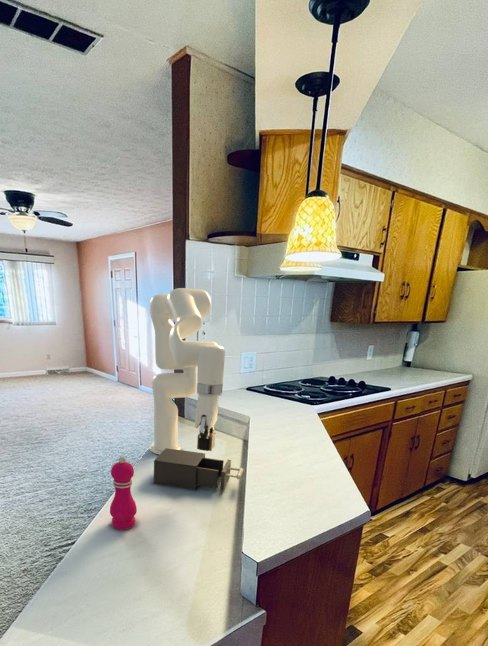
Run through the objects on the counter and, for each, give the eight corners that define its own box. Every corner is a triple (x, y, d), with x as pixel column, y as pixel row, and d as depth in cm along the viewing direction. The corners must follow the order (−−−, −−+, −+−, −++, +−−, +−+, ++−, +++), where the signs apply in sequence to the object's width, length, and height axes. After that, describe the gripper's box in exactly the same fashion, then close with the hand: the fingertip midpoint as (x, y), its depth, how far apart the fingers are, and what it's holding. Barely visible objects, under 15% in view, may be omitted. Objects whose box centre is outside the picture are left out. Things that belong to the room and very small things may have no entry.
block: (200, 444, 129) (201, 430, 127) (214, 446, 128) (215, 432, 127) (197, 449, 125) (197, 435, 123) (211, 451, 124) (212, 437, 122)
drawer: (243, 479, 144) (245, 461, 142) (238, 493, 134) (239, 474, 131) (192, 472, 148) (193, 454, 145) (184, 485, 137) (184, 466, 135)
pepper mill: (131, 532, 110) (130, 463, 102) (105, 528, 111) (103, 460, 104) (140, 519, 117) (140, 454, 109) (116, 515, 118) (114, 450, 110)
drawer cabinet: (204, 475, 148) (205, 453, 145) (195, 490, 136) (196, 466, 133) (165, 470, 151) (166, 448, 147) (153, 483, 139) (153, 460, 136)
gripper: (204, 382, 128) (201, 437, 135) (189, 393, 113) (186, 454, 120) (227, 384, 127) (223, 440, 134) (215, 396, 111) (211, 458, 118)
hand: (205, 446), depth 127 cm, fingers closed on block, 4 cm apart
